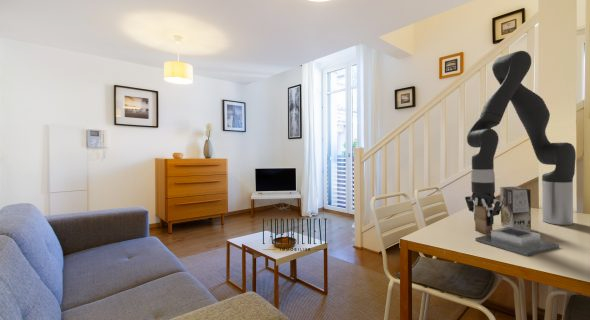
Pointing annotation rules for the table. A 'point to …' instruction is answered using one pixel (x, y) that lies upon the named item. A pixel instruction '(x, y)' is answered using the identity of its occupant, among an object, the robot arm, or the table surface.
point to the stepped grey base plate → (517, 241)
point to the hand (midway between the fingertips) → (483, 224)
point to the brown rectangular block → (481, 220)
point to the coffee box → (516, 207)
